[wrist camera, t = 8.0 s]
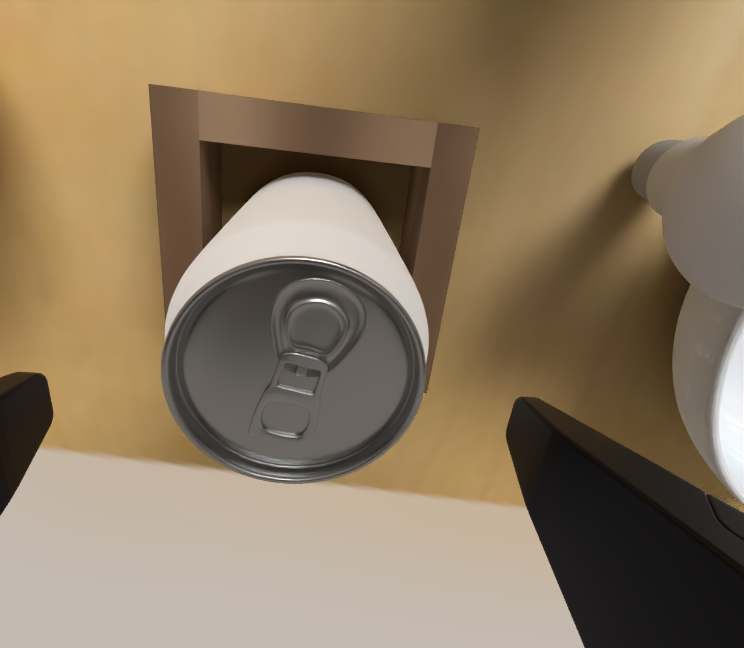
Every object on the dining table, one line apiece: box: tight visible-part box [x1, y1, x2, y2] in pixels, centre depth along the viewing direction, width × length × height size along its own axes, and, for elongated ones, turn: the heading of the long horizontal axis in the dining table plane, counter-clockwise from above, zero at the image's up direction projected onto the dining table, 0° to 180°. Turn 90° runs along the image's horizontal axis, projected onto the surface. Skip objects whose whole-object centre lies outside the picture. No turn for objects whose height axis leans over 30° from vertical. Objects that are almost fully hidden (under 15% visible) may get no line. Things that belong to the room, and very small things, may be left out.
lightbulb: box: [631, 115, 744, 309], centre depth 16 cm, size 6×6×11 cm
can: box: [161, 172, 429, 484], centre depth 15 cm, size 6×6×12 cm
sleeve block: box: [149, 84, 479, 393], centre depth 19 cm, size 11×11×4 cm
